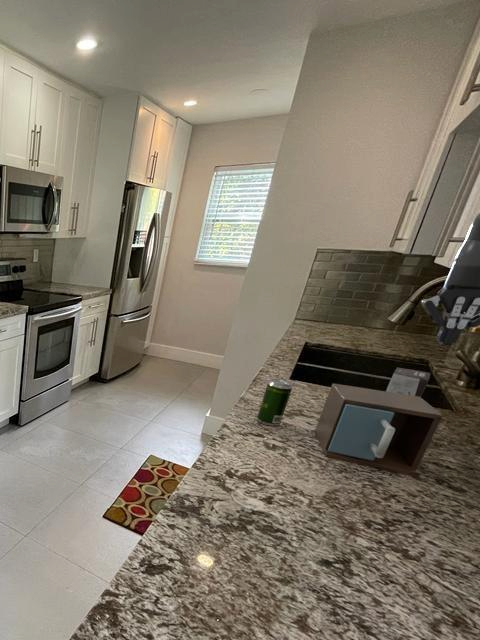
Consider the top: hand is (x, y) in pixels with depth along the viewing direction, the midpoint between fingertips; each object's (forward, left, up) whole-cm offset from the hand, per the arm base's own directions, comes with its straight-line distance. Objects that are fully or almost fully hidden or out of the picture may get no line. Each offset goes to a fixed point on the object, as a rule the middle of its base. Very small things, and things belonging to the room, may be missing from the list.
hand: (444, 344), depth 91 cm
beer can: (+26, 0, -27) cm, 38 cm away
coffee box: (-2, -13, -27) cm, 30 cm away
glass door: (+12, +17, -25) cm, 33 cm away
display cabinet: (+8, +7, -27) cm, 29 cm away
